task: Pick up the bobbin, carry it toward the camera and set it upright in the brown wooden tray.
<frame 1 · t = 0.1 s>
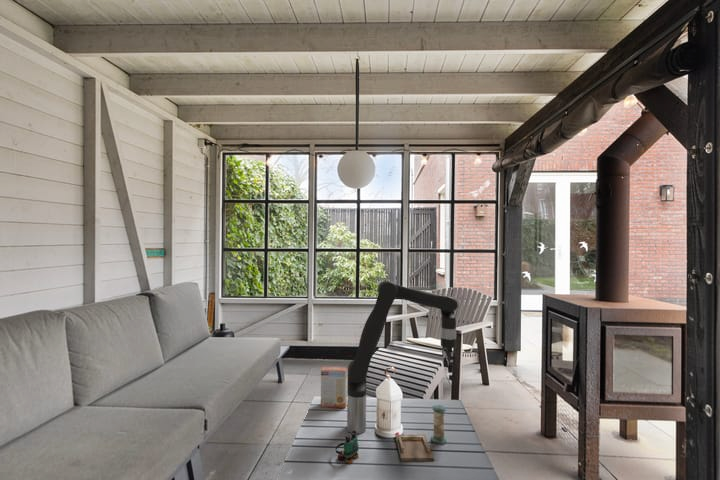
hand: (447, 369, 194), 29 cm above the table, tool pointing down, fingers open, 8 cm apart
brown wooden tray: (413, 448, 175), on the table
cracker box: (333, 406, 219), on the table
bobbin: (438, 440, 182), on the table
binoculars: (346, 458, 167), on the table
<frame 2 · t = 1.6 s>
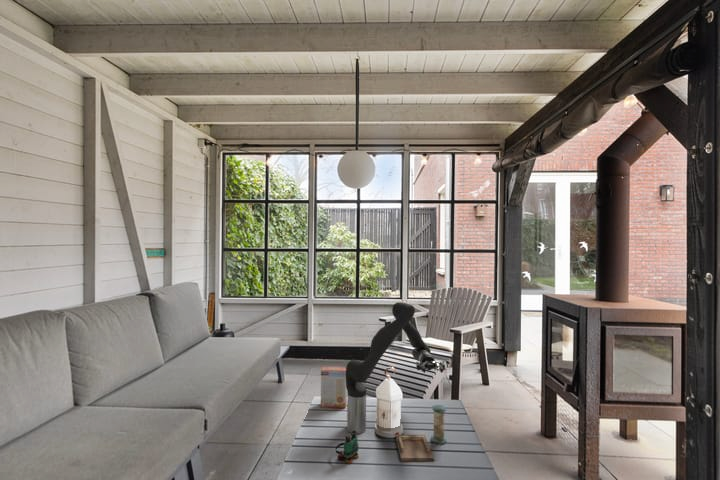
hand: (433, 370, 195), 28 cm above the table, tool horizontal, fingers open, 8 cm apart
nothing on the table moved.
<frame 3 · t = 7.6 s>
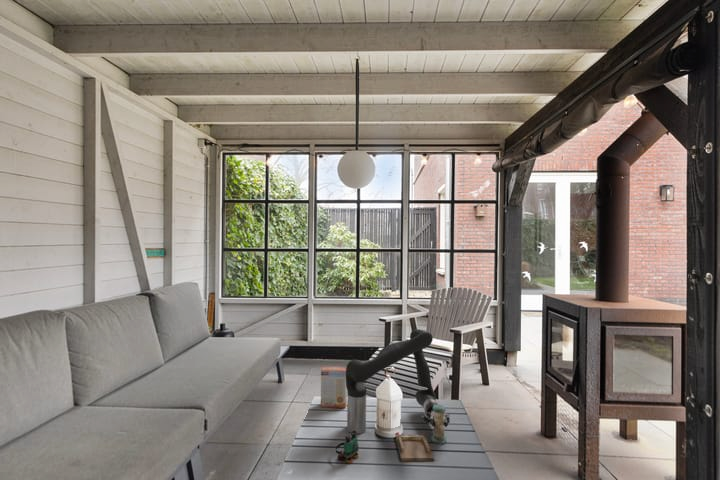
hand: (440, 424, 180), 8 cm above the table, tool horizontal, fingers closed on bobbin, 4 cm apart
bobbin: (438, 440, 182), on the table, touching gripper
everything else where it was.
when the fingers open (11 cm above the table, at t = 14.7 s): bobbin drops 1 cm, resting on brown wooden tray.
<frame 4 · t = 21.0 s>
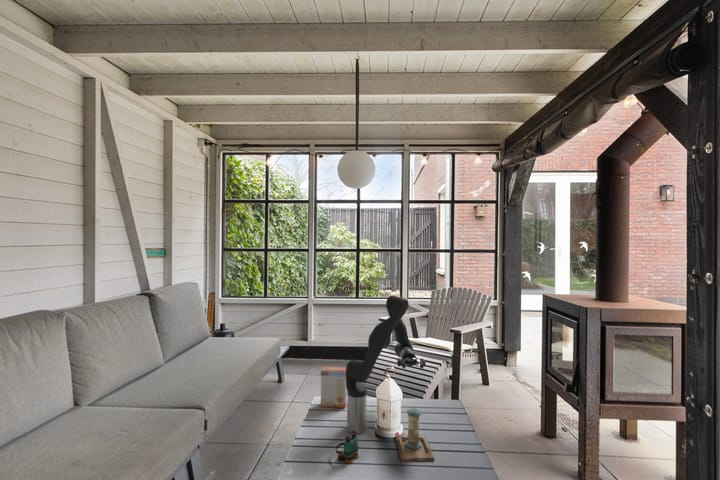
hand: (413, 366, 195), 30 cm above the table, tool horizontal, fingers open, 8 cm apart
bobbin: (413, 445, 175), point 1 cm above the table, touching brown wooden tray
everything else where it was.
at the end: bobbin 0.1 cm off-centre on the brown wooden tray, point 1.2 cm above the brown wooden tray's base; bobbin tilted 0°; the gripper is holding nothing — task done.
